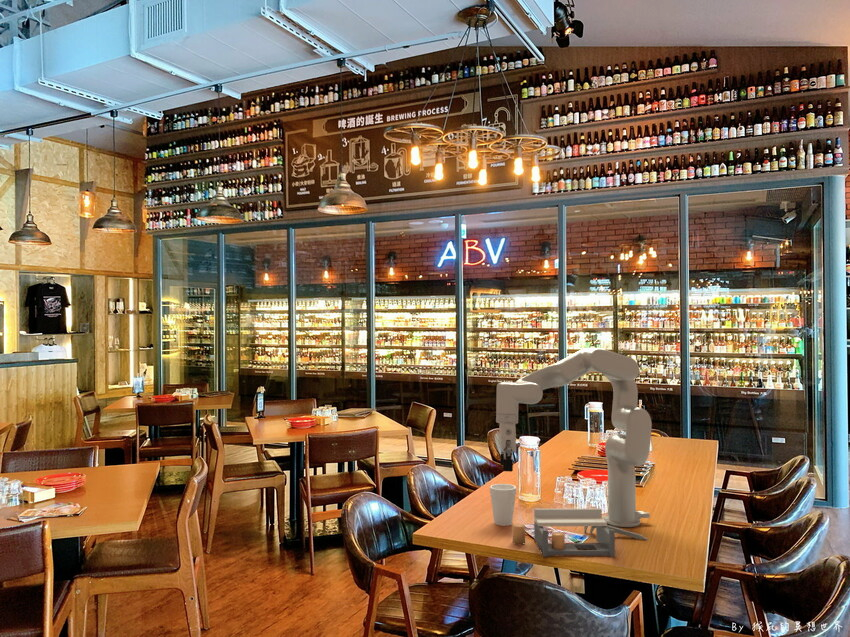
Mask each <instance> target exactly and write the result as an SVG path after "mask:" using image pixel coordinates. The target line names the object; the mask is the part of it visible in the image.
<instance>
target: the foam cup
mask: <svg viewBox="0 0 850 637" xmlns="http://www.w3.org/2000/svg"><path fill="white" fill-rule="evenodd" d="M489 494H490V499H491V500H490V501H491V508H492V515H493V521H494V524H495V525H497V526H504V527H505V526H506V525H507V526H512V525H513V519H514V512H515V503H516V495H517V487H516V485H514V484H510V483H496V484H491V485H489Z"/></svg>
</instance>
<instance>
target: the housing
mask: <svg viewBox="0 0 850 637" xmlns="http://www.w3.org/2000/svg"><path fill="white" fill-rule="evenodd" d="M533 527H534V528H533V529H534V542H535V541H536V542H535V544H536V543H537V544H536V546H537V545H538V546H537V548H538V547H539V548H540V550H541V552H542V553H541V552H540V553H541V555H542V557H543V558H545V557H546V558H549V557H552V556H551V555H582V556H585V557H586V556H587V557H588V556H589V557H591V556H592V557H593V556H594V557H595V556H597V557H598V556H599V557H601V556H603V557H604V556H607V557H608V556H609V557H613V558H614V557H616V540H615V538H616V536H615V530H614V529H608V528H607V526H596V528H595V529H596V530H595V531H596V533H595V536H596V537H595V538H596V542H580V543H579V542H571V543H570V542H569V543H567V542H566V541H565V540H566V538H565V534H564V533H563V532H560V531H559V532H558V531H556V532H555V531H553V532H552V533H551V543H549V529H545V527H544V526H538V525H537V524H536V522H535V520H534V526H533ZM539 548H538V549H539ZM577 549H587V550H577ZM540 550H539V551H540ZM582 556H581V557H582Z"/></svg>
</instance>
